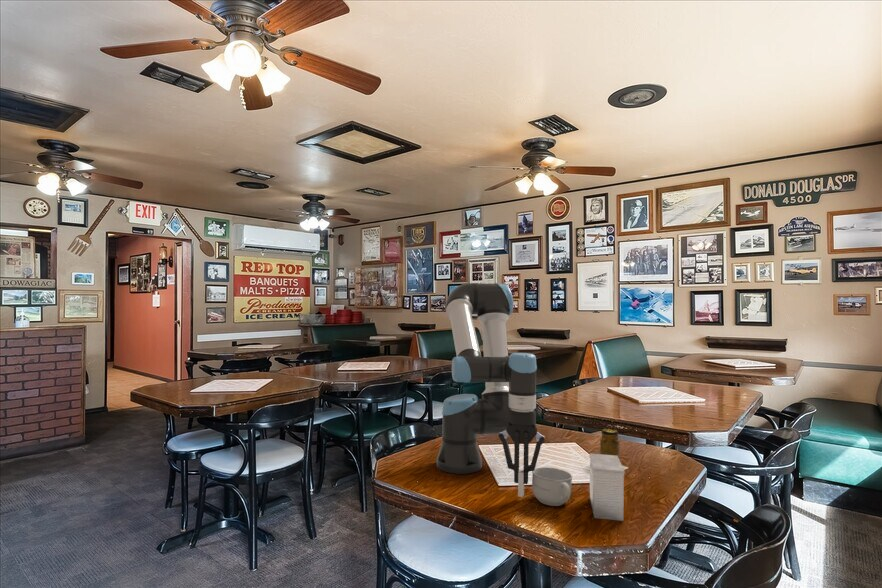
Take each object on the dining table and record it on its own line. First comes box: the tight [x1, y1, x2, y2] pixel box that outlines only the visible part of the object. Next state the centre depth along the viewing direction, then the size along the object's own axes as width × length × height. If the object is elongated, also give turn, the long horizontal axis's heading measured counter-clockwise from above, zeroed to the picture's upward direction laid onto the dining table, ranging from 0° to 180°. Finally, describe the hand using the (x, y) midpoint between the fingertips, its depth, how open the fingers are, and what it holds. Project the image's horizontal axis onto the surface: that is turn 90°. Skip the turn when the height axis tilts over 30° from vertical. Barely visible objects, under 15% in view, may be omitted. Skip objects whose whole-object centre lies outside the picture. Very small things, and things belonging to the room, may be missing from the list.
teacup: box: [531, 466, 573, 507], centre depth 126 cm, size 14×11×8 cm
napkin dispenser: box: [589, 452, 626, 522], centre depth 123 cm, size 8×12×13 cm, turn 167°
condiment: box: [599, 428, 629, 471], centre depth 156 cm, size 7×8×12 cm
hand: (520, 494), depth 128 cm, fingers closed
